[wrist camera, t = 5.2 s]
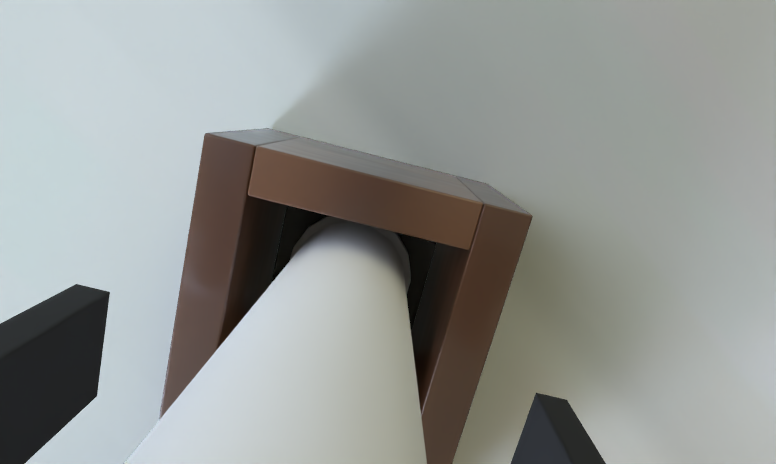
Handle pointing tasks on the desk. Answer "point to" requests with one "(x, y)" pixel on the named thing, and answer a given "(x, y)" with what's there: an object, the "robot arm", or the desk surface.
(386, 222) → the caddy
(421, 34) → the desk surface
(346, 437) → the bottle
